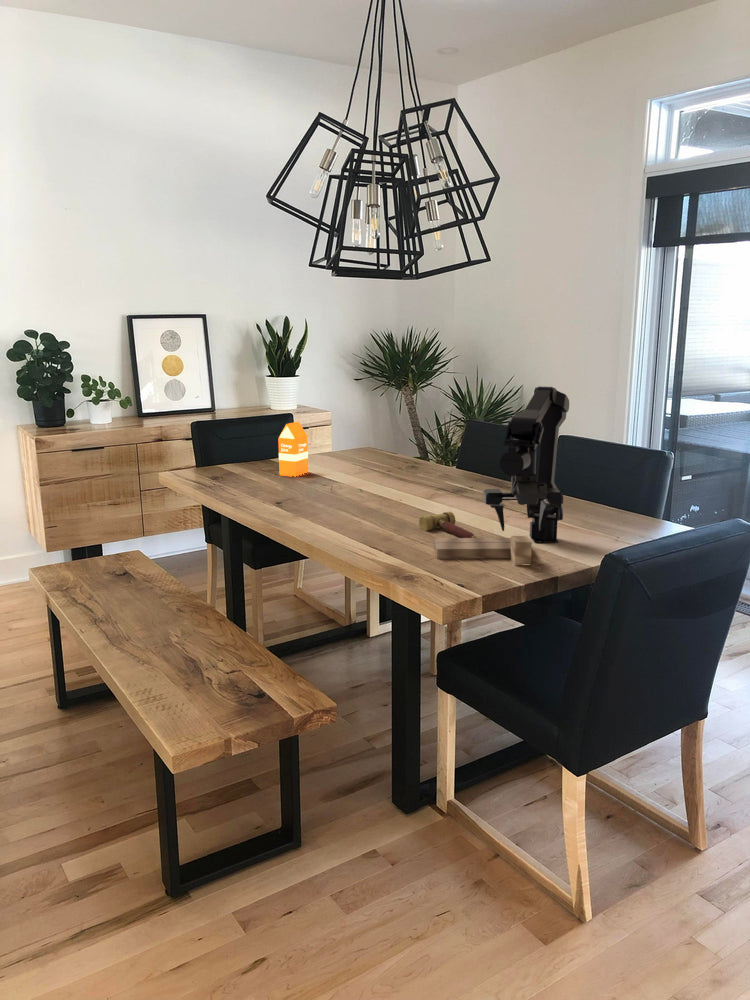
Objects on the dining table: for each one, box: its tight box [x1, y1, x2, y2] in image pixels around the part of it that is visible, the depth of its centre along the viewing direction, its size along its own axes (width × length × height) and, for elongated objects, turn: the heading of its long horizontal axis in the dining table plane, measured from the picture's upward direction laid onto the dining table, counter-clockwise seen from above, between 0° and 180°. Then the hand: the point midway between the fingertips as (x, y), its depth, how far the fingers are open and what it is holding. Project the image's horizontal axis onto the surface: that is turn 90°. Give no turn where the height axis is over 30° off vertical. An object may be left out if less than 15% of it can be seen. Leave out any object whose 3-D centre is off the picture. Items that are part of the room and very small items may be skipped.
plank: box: [433, 537, 533, 560], centre depth 210 cm, size 24×10×2 cm, turn 90°
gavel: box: [418, 511, 477, 538], centre depth 227 cm, size 21×5×10 cm
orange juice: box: [278, 421, 309, 478], centre depth 312 cm, size 8×9×20 cm
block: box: [509, 535, 533, 566], centre depth 204 cm, size 4×12×6 cm, turn 0°
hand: (521, 530), depth 200 cm, fingers open, 9 cm apart
